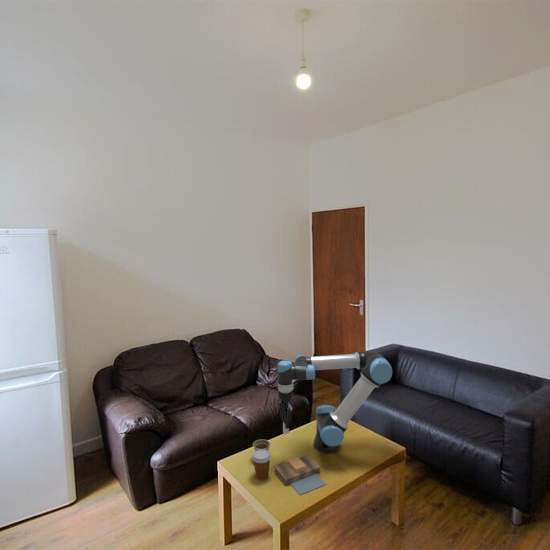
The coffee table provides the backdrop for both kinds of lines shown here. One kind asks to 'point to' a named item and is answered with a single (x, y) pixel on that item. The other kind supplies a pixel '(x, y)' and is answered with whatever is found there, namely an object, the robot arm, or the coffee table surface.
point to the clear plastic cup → (261, 444)
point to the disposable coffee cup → (261, 463)
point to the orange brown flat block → (296, 464)
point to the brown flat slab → (291, 476)
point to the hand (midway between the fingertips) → (286, 433)
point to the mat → (308, 484)
